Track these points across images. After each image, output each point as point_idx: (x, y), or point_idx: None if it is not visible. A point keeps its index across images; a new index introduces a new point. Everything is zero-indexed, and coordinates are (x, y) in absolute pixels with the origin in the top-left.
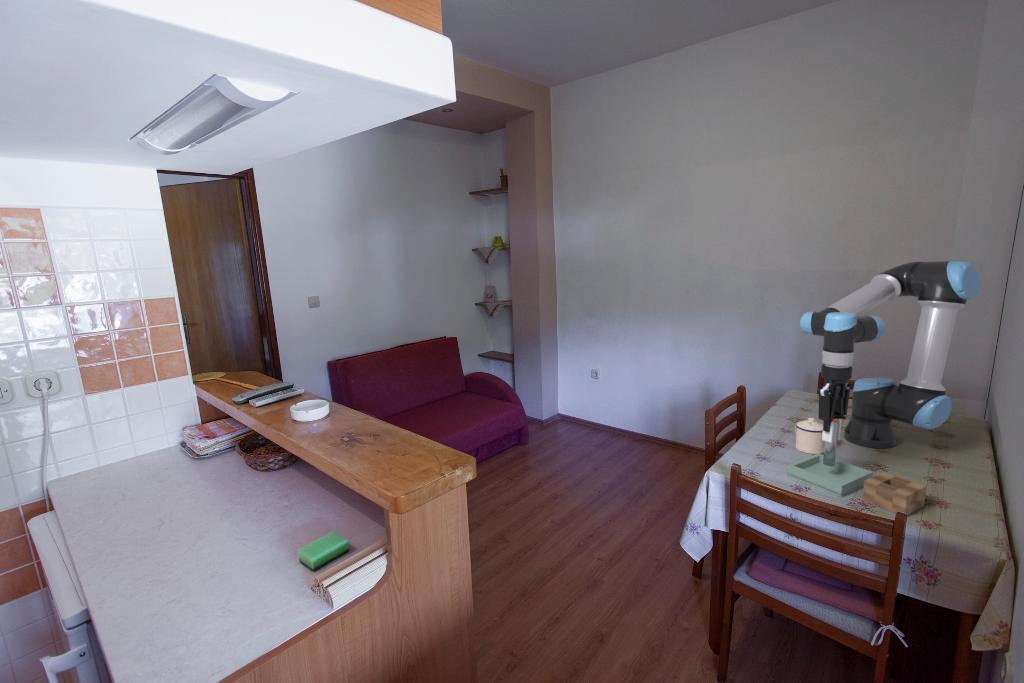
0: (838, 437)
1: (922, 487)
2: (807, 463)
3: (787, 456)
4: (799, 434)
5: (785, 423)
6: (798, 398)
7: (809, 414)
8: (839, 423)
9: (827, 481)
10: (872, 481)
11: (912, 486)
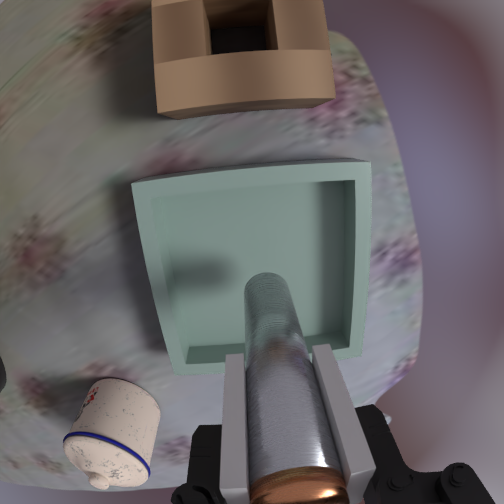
0: (244, 366)
1: None
2: None
3: None
4: (151, 454)
5: (79, 471)
6: (3, 474)
7: (14, 454)
8: (245, 457)
9: (370, 216)
10: (308, 75)
11: None
